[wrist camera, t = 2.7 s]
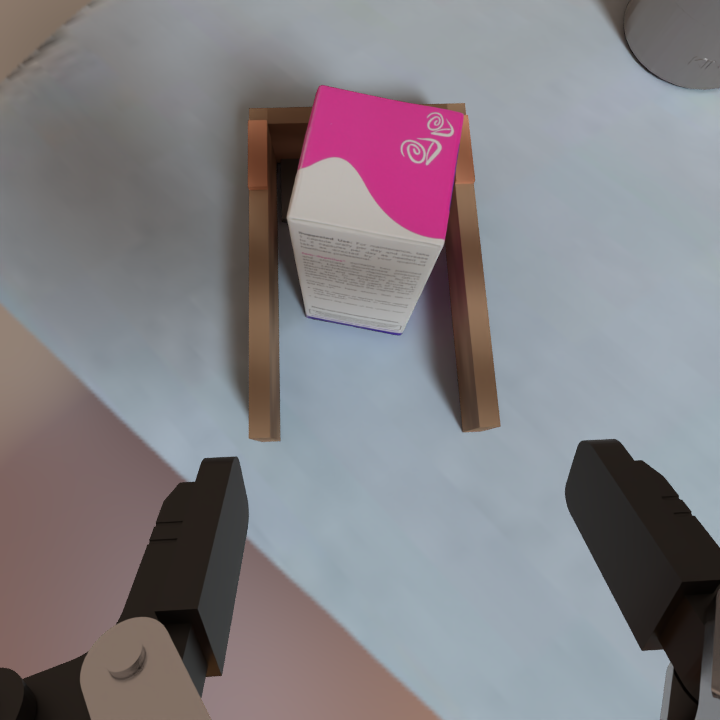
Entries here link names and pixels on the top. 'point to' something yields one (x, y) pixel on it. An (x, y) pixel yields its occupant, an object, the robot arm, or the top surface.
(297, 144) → the channel
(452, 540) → the top surface
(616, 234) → the top surface
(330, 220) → the supplement box
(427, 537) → the top surface
